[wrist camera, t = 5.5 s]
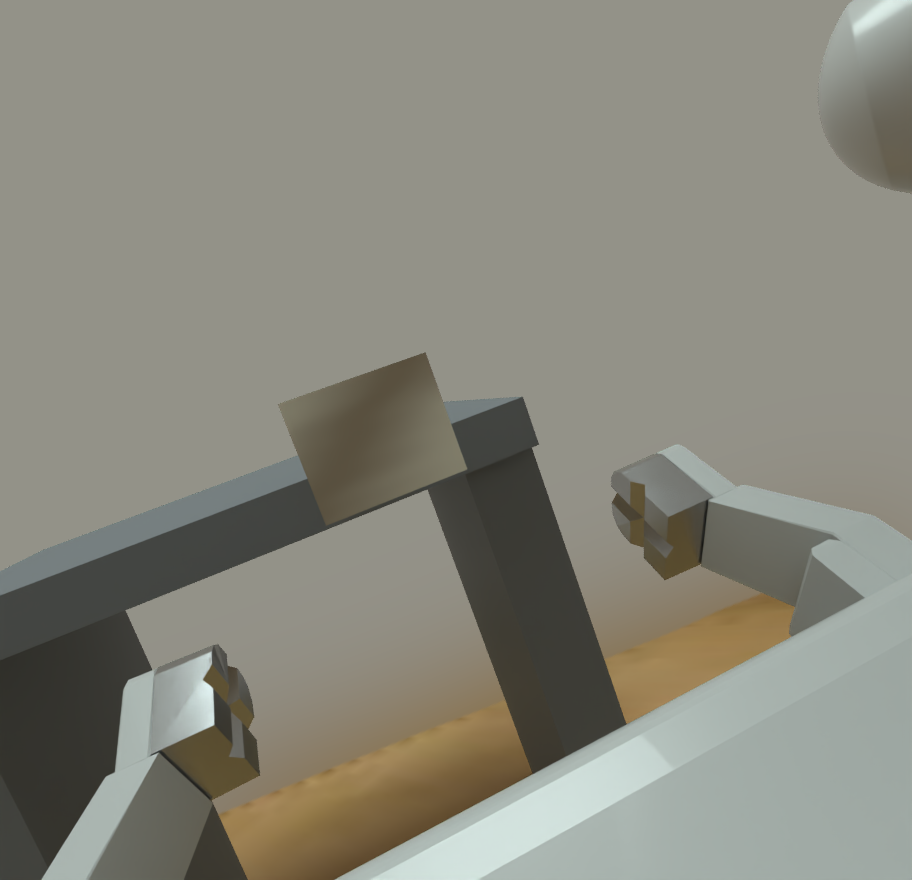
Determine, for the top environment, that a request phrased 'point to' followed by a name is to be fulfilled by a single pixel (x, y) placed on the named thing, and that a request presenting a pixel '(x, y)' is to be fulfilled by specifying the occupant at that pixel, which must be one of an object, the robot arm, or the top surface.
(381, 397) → the bar
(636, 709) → the top surface
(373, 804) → the top surface
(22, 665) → the grey step stool
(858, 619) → the robot arm
